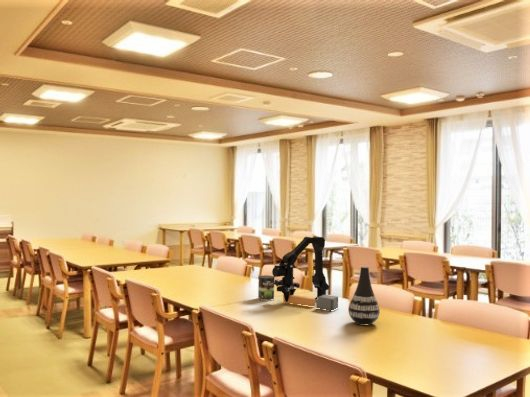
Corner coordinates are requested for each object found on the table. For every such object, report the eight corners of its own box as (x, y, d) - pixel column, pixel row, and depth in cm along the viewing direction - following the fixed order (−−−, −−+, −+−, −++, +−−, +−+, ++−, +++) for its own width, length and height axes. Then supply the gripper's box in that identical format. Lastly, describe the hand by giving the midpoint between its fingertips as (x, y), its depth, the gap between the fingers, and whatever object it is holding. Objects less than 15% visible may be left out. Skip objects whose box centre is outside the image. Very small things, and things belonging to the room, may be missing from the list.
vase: (356, 328, 241) (357, 269, 241) (343, 320, 256) (344, 265, 256) (385, 327, 245) (386, 268, 245) (370, 319, 261) (371, 264, 260)
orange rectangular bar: (283, 303, 295) (283, 294, 295) (285, 302, 298) (286, 294, 298) (312, 307, 285) (313, 299, 284) (315, 306, 287) (315, 298, 287)
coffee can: (276, 300, 302) (276, 277, 302) (260, 301, 300) (260, 278, 299) (271, 296, 312) (272, 275, 312) (256, 297, 310) (256, 275, 309)
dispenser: (316, 309, 281) (316, 296, 281) (322, 306, 287) (322, 294, 287) (332, 311, 275) (332, 298, 275) (337, 308, 282) (338, 296, 282)
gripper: (284, 272, 307) (284, 296, 307) (269, 276, 291) (268, 302, 292) (300, 274, 301) (299, 299, 301) (285, 278, 285) (284, 304, 286)
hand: (288, 301), depth 295 cm, fingers closed on orange rectangular bar, 3 cm apart
